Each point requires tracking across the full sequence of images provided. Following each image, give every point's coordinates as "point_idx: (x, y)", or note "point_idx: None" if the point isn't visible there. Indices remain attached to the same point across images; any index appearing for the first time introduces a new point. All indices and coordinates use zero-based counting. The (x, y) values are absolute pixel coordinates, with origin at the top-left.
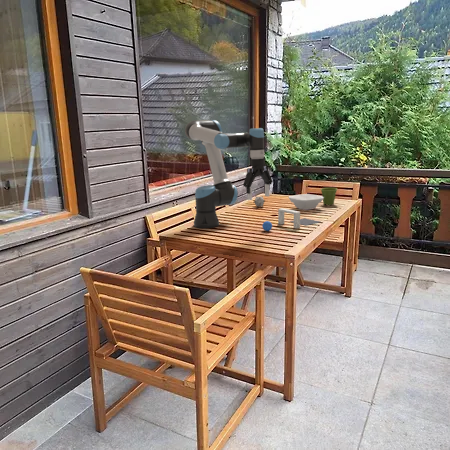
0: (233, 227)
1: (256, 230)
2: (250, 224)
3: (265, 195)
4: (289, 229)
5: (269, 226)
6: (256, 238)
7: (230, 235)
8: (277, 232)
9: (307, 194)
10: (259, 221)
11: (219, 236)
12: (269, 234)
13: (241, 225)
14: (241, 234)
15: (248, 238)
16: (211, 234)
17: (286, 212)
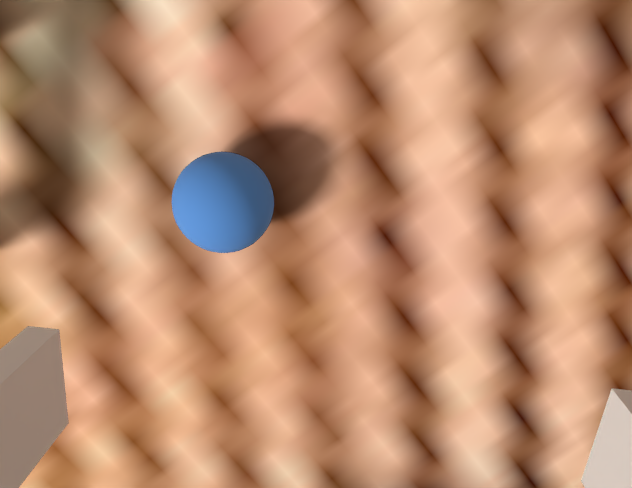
0: (327, 472)
1: (286, 275)
2: (163, 428)
3: (58, 420)
4: (52, 48)
5: (242, 159)
6: (516, 103)
7: (550, 346)
8: (218, 76)
9: None
10: None
11: None
12: (326, 93)
13: (236, 462)
14: (473, 295)
15: (555, 164)
16: None
17: None
